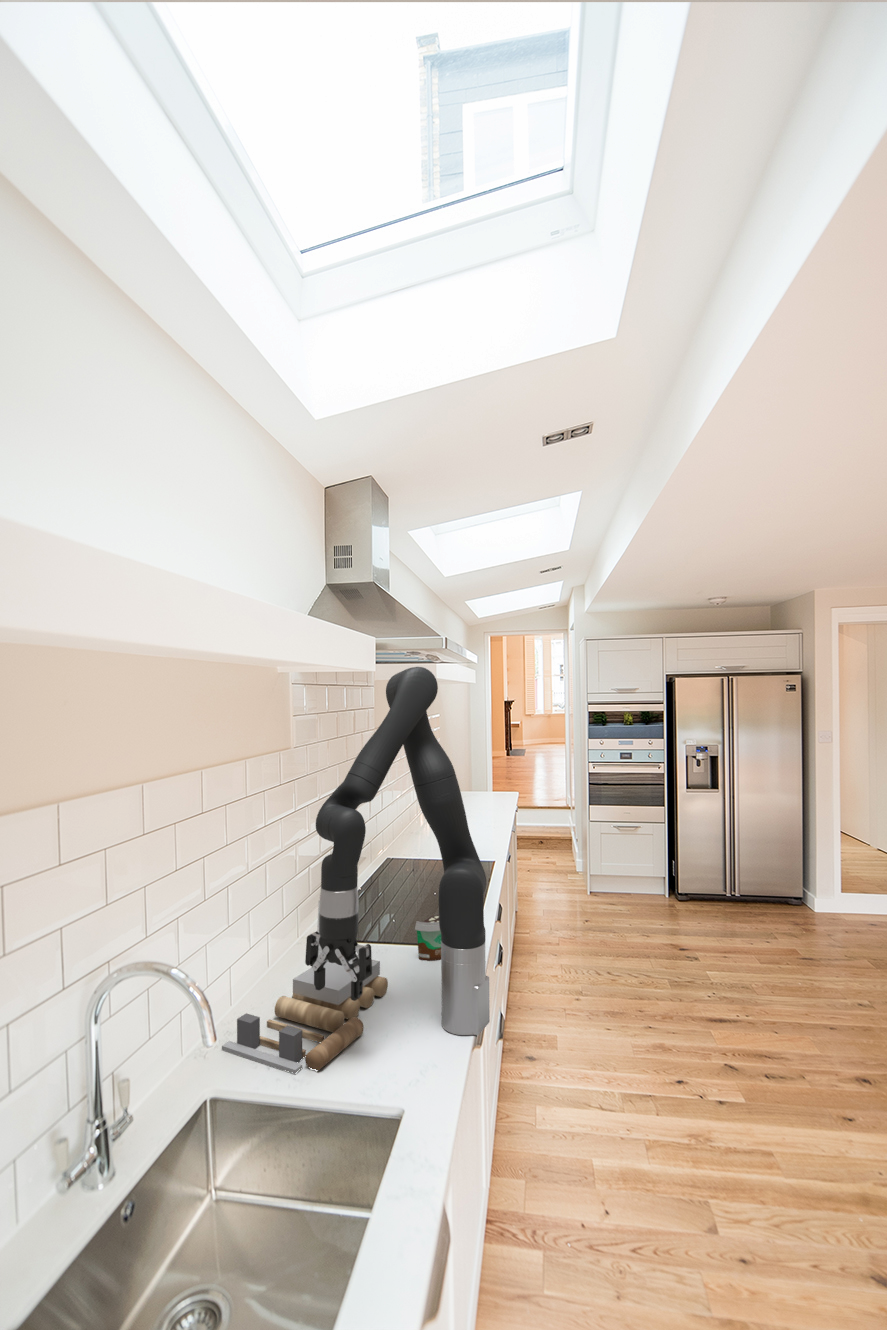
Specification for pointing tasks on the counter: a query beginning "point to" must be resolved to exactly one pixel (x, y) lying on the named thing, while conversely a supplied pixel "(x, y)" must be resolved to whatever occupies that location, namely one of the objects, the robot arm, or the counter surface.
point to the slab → (330, 983)
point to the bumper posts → (251, 1040)
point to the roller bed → (321, 1012)
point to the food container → (429, 939)
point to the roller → (334, 1044)
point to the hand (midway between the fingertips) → (337, 993)
